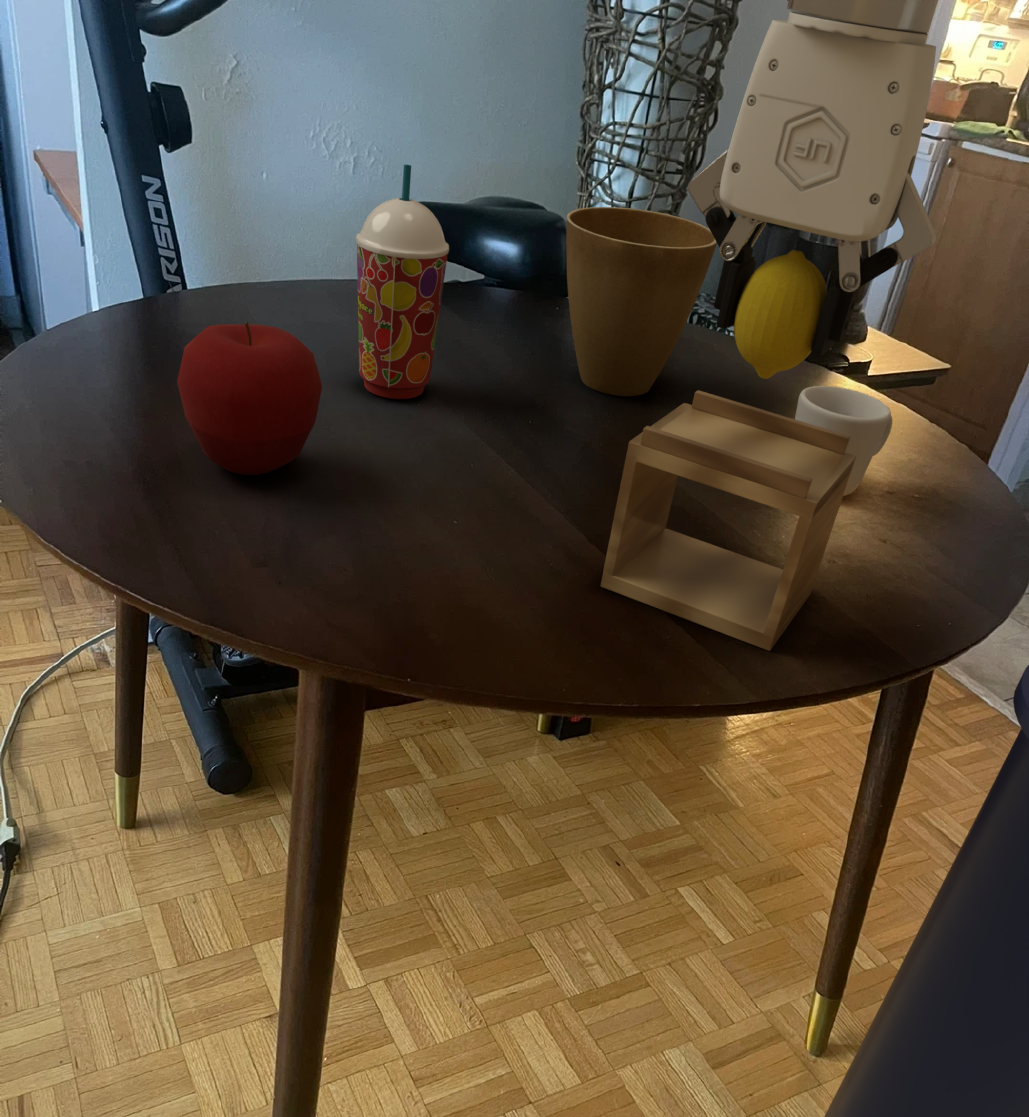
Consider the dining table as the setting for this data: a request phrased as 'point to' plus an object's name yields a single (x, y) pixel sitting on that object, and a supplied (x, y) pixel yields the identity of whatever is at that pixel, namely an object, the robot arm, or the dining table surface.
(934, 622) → the dining table surface
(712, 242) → the plant pot
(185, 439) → the dining table surface
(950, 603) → the dining table surface
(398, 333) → the smoothie
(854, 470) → the cup
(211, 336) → the apple
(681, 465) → the shelf
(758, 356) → the lemon
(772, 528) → the dining table surface
